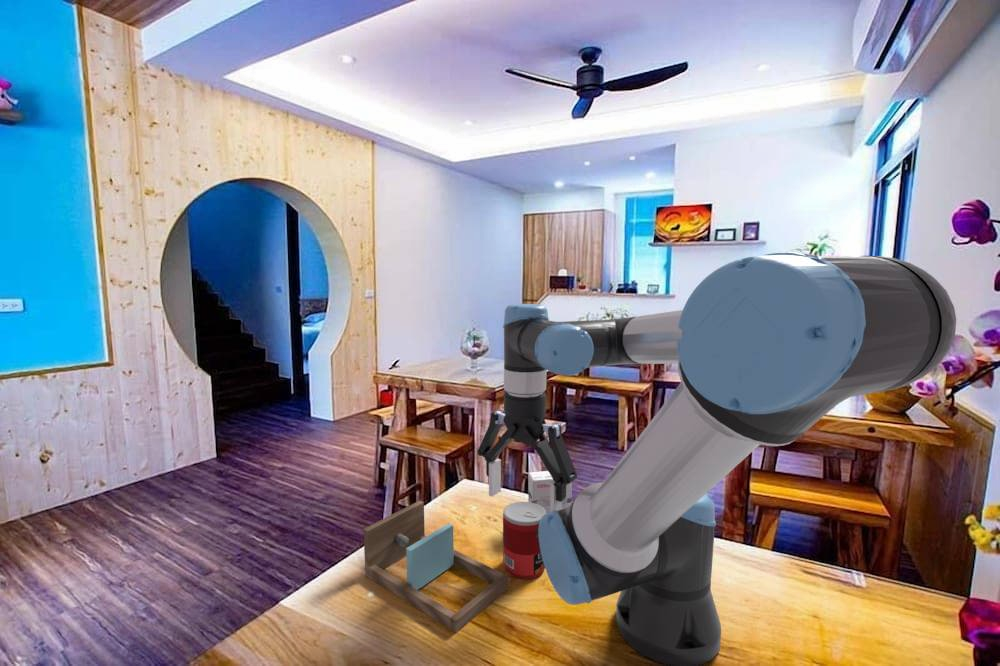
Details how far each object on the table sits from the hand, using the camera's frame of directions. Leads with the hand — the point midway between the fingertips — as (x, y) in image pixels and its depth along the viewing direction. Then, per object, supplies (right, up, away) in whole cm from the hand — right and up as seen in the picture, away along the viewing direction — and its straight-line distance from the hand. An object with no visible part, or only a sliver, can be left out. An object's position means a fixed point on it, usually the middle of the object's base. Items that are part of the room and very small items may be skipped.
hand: (523, 504), depth 87 cm
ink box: (+6, -10, +15) cm, 20 cm away
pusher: (-17, -12, -2) cm, 21 cm away
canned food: (0, -12, +1) cm, 12 cm away
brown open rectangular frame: (-16, -13, -3) cm, 20 cm away
